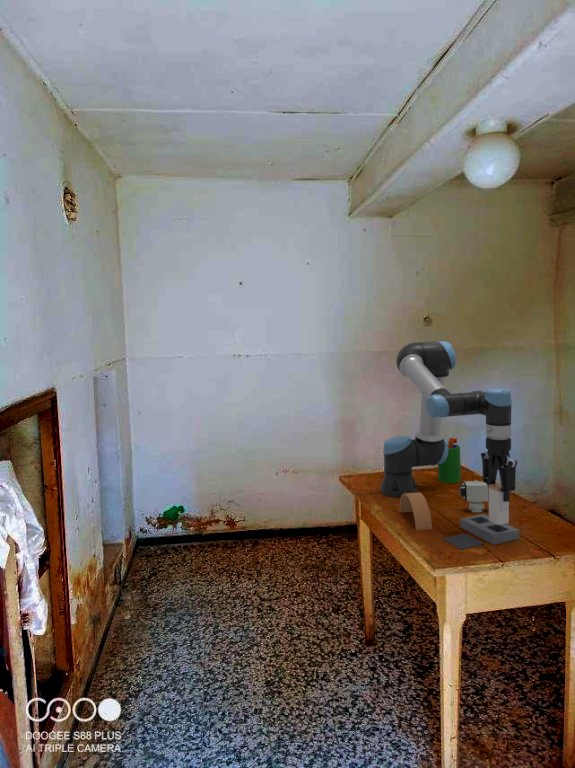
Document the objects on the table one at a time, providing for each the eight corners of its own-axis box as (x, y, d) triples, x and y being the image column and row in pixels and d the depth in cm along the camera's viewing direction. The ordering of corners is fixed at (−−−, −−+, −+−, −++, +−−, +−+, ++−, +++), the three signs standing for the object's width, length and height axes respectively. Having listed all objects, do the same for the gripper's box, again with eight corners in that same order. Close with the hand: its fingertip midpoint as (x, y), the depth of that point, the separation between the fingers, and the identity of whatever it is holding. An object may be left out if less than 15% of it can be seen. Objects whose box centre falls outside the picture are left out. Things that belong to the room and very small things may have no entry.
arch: (414, 510, 193) (413, 485, 192) (432, 531, 173) (431, 502, 172) (399, 511, 193) (398, 486, 192) (415, 532, 173) (414, 504, 172)
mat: (442, 540, 165) (442, 538, 165) (465, 535, 168) (465, 533, 168) (460, 551, 156) (460, 548, 156) (484, 545, 159) (484, 543, 159)
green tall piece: (448, 476, 235) (447, 434, 233) (465, 479, 228) (464, 436, 226) (435, 481, 229) (434, 437, 227) (452, 484, 222) (452, 440, 220)
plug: (488, 520, 164) (488, 484, 163) (499, 518, 166) (499, 483, 165) (498, 525, 160) (498, 488, 159) (508, 522, 162) (508, 486, 161)
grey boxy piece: (460, 528, 174) (460, 518, 173) (484, 523, 177) (483, 513, 177) (494, 546, 159) (493, 535, 158) (518, 540, 162) (518, 529, 162)
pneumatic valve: (494, 514, 186) (494, 482, 184) (461, 513, 188) (460, 481, 187) (491, 508, 191) (491, 477, 190) (459, 508, 193) (458, 477, 192)
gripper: (470, 433, 167) (470, 501, 170) (509, 444, 151) (509, 519, 153) (488, 431, 169) (488, 498, 172) (529, 440, 153) (528, 514, 156)
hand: (498, 507), depth 163 cm, fingers closed on plug, 4 cm apart
